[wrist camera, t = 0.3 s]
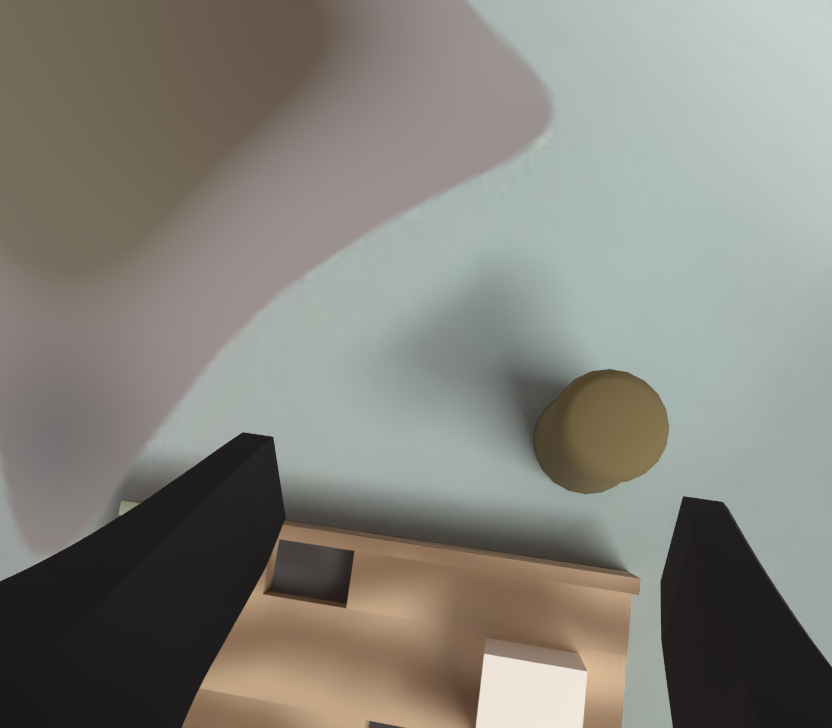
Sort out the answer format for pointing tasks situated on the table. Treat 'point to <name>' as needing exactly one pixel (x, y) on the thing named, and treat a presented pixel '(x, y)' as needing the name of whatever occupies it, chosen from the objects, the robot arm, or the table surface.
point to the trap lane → (404, 632)
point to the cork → (601, 432)
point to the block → (530, 687)
